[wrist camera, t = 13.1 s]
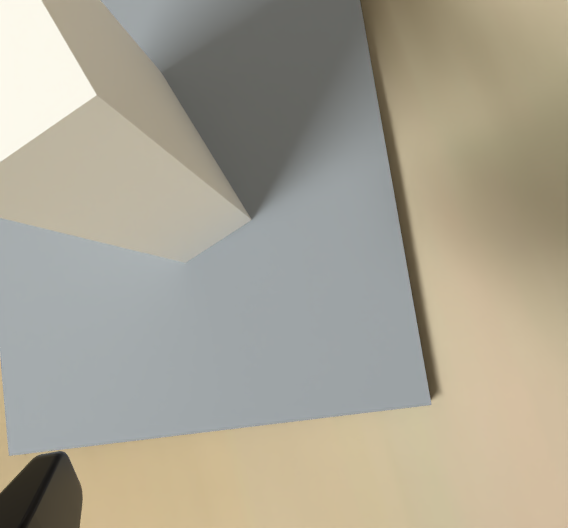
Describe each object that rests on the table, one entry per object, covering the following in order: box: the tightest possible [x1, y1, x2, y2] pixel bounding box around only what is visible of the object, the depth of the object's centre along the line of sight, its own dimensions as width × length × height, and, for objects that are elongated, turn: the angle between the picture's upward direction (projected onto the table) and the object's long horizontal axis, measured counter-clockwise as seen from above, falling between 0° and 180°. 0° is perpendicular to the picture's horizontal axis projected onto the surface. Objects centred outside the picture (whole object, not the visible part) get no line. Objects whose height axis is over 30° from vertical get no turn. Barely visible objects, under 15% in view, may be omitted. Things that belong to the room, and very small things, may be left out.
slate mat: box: [0, 0, 431, 456], centre depth 19 cm, size 20×16×1 cm
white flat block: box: [0, 0, 252, 263], centre depth 13 cm, size 7×3×11 cm, turn 32°
